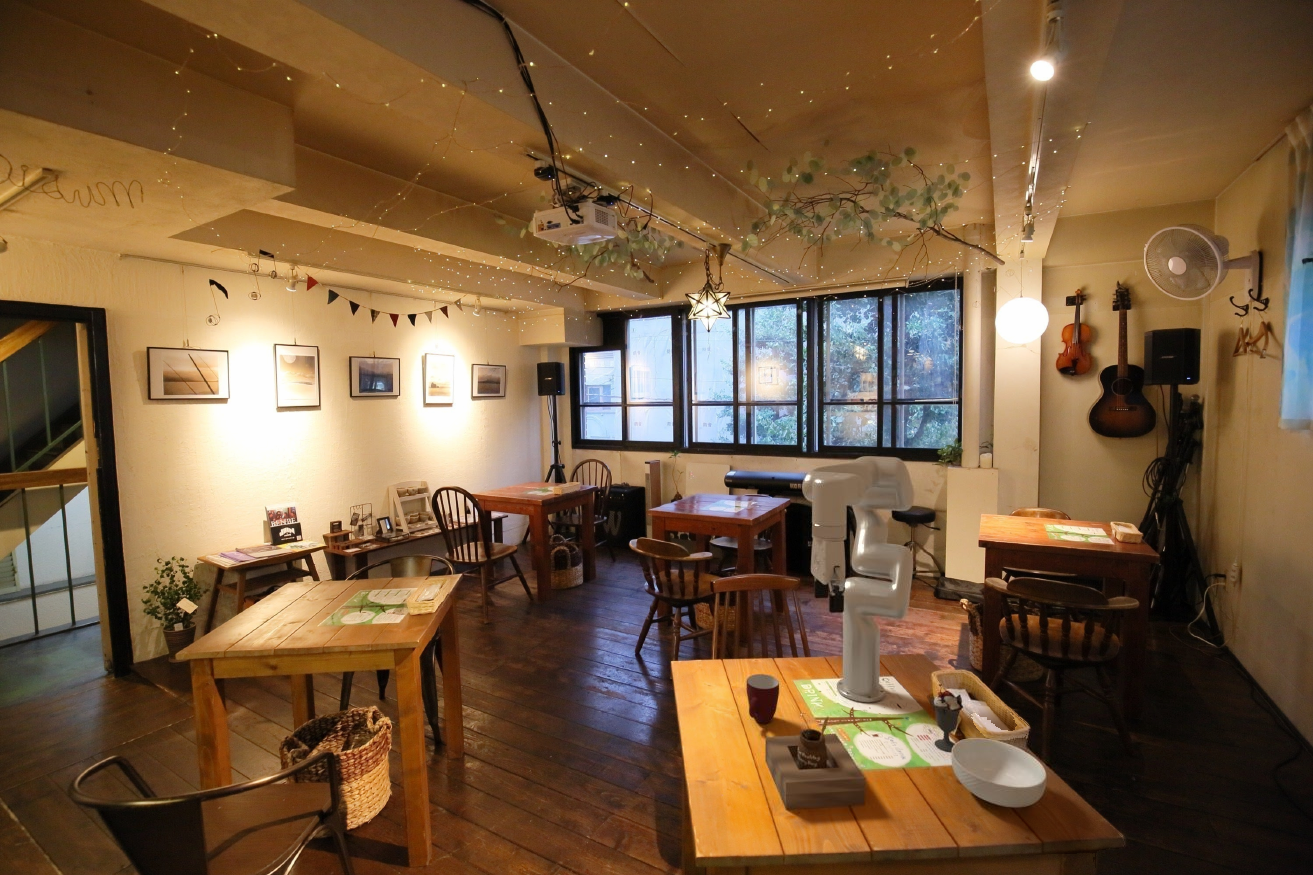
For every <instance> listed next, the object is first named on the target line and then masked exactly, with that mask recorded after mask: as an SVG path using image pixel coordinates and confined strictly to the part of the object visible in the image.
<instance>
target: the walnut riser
mask: <svg viewBox="0 0 1313 875" xmlns="http://www.w3.org/2000/svg"><path fill="white" fill-rule="evenodd" d="M823 735H824V737H825V745H826V749H827V766H826V768H824V769H806V770H801V769H800V768H799V765H798V743H799V741H800V738H799V737H800V734H798V735H783V736H782V735H780V736H766V737H765V752H764V753H765V755H764V758H765V764H766V765H767V768H768V771H769V772H770V775H771V777H772V780H773V782H774V785H775V787H776V789H777V792H778V794H779V797H780V799H781V801H782V804H783V807H784V809H785V810H797V809H817V808H819V809H820V808H830V807H831V808H832V807H835V808H836V807H848V806H852V807H853V806H865V805H866V777H865V776H864V774H863V773H862V771H861V769H860V768H859V767H858V765H857V764H856V762H855V761H854V759H853V757H852V756H851V754H850V753H849V751H848V750H847V748H846V746H845V745H844V744H843V743H842V741H841V740H840V738H839V737H838V735H837V734H836V733H823Z"/></svg>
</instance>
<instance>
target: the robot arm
mask: <svg viewBox="0 0 1313 875" xmlns="http://www.w3.org/2000/svg"><path fill="white" fill-rule="evenodd" d="M801 489H802V490H801V491H802V494H803V496H804V498H805V499H806V500H807V501H809V502H811V504H812V505H811V509H812V510H811V512H812V513H811V514H812V516H811V524H812V526H811V537H812V546H811V557H810V558H811V560H810V572H811V574H812V575H813V579H814V583H813V584H814V595H813V597H814V598H815V599H828V610H829V613H831V614H832V613H835V614H836V613H837V614H838V613H839V614H840V613H842V678H841V679H840V680H838V681H837V683H836V689H837V692H838V693H839V694H840V695H841V696H843V697H845V698H846V699H849V700H852V701H856V702H861V703H875V702H879V701H881V700H883V699H884V698H885V697H886V689H885V688H884V686H883V685H882V684H881V683H880V655H881V654H880V653H881V652H880V650H881V649H880V647H881V646H880V644H881V643H880V642H881V632H880V631H881V630H880V628H879V625H878V623H877V621H876V620H875V618H874V617H876V618H877V617H878V618H883V619H889V620H896V621H899V620H903V619H904V618H905V617H906V616H907V614H908V611H909V610H908V609H909V606H910V605H909V604H910V598H911V597H910V596H911V589H912V588H911V587H912V581H913V572H914V571H913V570H914V558H913V557H914V556H913V553H912V551H911V550H910V549H909V547H907V546H906V545H905V546H904V545H902V544H895V543H888V537H889V536H888V535H889V527H888V524H887V522H886V521H885V519H884V518H883V517H882V515H881V514H880V513H879V512H877V510H883V511H885V510H886V511H897V512H906V511H908V510H910V509H911V508H912V507H913V505H914V501H915V491H914V487H913V482H912V480H911V476H910V473H909V469H908V467H907V465H906V463H905V462H904V460H902V459H901V458H899V457H896V456H895V457H893V456H876V455H875V456H871V455H869V456H868V455H867V456H866V455H865V456H861V457H858V458H856V459H854V460H852V461H850V462H847V463H838V464H835V465H834V464H833V465H826V466H824V465H823V466H821V467H816V468H813V469H811V470H809V471H808V472H807V473H806V475H805V476H804V478H803V481H802V488H801ZM847 506H851V507H852V510H853V511H852V512H853V514H854V516H855V522H856V531H855V536H854V537H855V538H854V543H853V549H852V554H851V567H852V570H853V571H854V572H856V573H857V574H860V575H864V576H869V577H875V578H882V579H888V580H891V581H887V580H886V581H885V580H880V579H874V578H873V579H872V578H867V577H861V576H853V577H847V578H846V556H845V554H846V553H845V542H844V541H845V540H847ZM829 591H830V594H829Z"/></svg>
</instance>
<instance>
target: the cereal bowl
mask: <svg viewBox="0 0 1313 875" xmlns="http://www.w3.org/2000/svg"><path fill="white" fill-rule="evenodd" d="M950 754H951V755H950V756H951V758H950V759H951V765H952V767H951V768H952V769H953V772H954V775H955V776H956V778H957V779H958V781H959V782H960V783H961V785H962V786H964V787H965V789H967V790H968V791H969V792H971V793H972V794H974V795H975V796H977V797H978V798H980V799H982V800H984V801H986V802H988V803H991V804H993V805H998V806H1000V807H1005V808H1008V807H1009V808H1026V807H1028V806H1031V805H1034V804H1035V803H1037V802H1038V801H1039V800H1040V799H1041V798H1042V796H1043V795H1044V793H1045V791H1046V787H1047V777H1048V776H1047V772H1046V771H1047V770H1046V769H1045V767H1044V766H1043V765H1042V763H1041V762H1040V761H1039V760H1038V759H1036V758H1035V757H1034V756H1033V755H1031V754H1029V753H1028V752H1026V751H1024V750H1023V749H1021V748H1019V747H1017V746H1015V745H1011V744H1009V743H1006V742H1003V741H999V740H995V739H990V738H984V737H983V738H981V737H972V738H971V737H970V738H965V739H961V740H959V741H957V742H956V743H955V745H954V746H953V748H952V752H950Z"/></svg>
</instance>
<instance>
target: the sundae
mask: <svg viewBox="0 0 1313 875" xmlns="http://www.w3.org/2000/svg"><path fill="white" fill-rule="evenodd" d="M938 686H939V687H940V690H939V691H938V693H937V696H935V697H932V698H931V700H930V702H931V705H932V707H934V710H935V711H934V712H935V719H936V725H937V726H938V727H939V729H940V730H941V731H942V732H943V737H942V739H941V738H938V739H936V740H935V741H934V746H935V747H936V748H937V749H939V750H940V751H943V752H948V753H951V752H952V748H953V746H954V745H955V744H956V743H955V742H953V741H952V740H950V733H952V732H954V731H955V730H956V729H957V725H958V720H959V715H960V711H961V710H963V708H964V706H963V704H962V703H963V699H962V697H961V694H958V695H955V694H954V693H952V692H951V691H950V690H947V689H946V688H945V687H944V686H943V685H942V683H941V684H938ZM942 688H943V690H944V691H942Z"/></svg>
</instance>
